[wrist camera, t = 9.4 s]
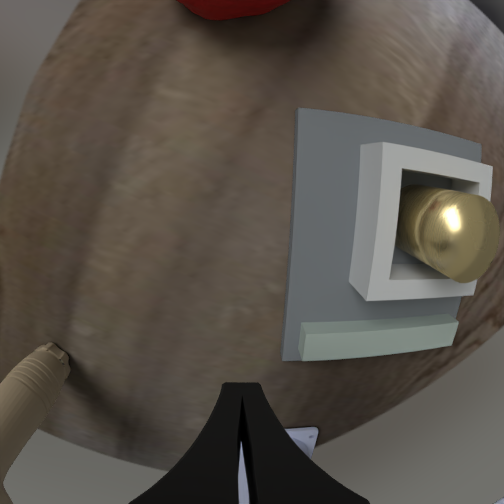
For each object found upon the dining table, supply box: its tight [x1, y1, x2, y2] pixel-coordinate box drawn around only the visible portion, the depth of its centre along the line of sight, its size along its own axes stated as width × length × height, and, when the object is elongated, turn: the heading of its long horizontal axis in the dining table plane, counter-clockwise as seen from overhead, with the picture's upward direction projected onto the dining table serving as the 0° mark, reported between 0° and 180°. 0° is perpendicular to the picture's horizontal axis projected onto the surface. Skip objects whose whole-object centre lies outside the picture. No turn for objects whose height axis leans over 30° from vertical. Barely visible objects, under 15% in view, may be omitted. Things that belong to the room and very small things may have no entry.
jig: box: [280, 108, 493, 361], centre depth 17 cm, size 16×14×4 cm
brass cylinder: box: [395, 184, 500, 283], centre depth 15 cm, size 4×4×6 cm
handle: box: [0, 343, 71, 504], centre depth 13 cm, size 5×6×15 cm
